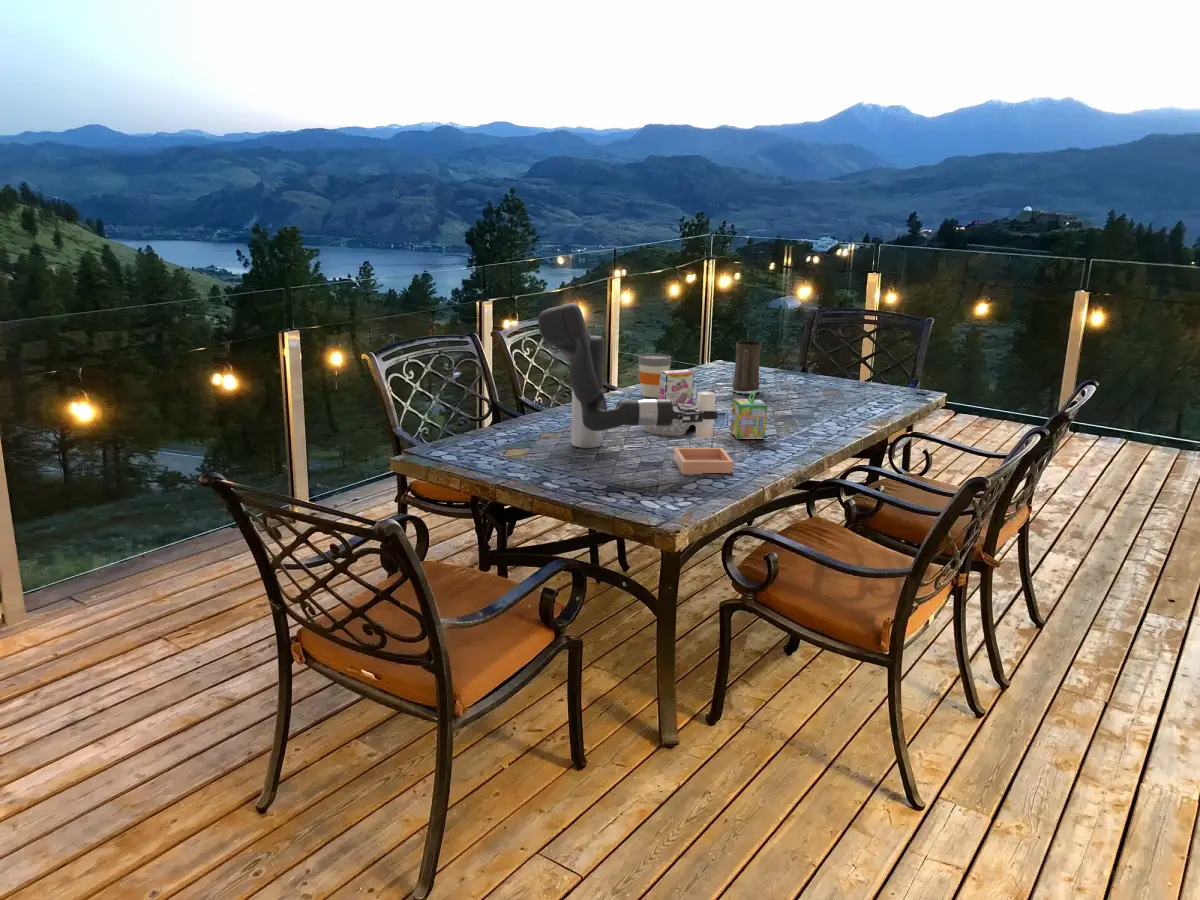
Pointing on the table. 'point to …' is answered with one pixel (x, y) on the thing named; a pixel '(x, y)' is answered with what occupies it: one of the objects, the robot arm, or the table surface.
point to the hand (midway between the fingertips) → (714, 413)
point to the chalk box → (748, 417)
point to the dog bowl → (670, 428)
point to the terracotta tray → (702, 460)
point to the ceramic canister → (705, 404)
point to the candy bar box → (677, 386)
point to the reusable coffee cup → (652, 372)
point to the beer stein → (747, 366)
